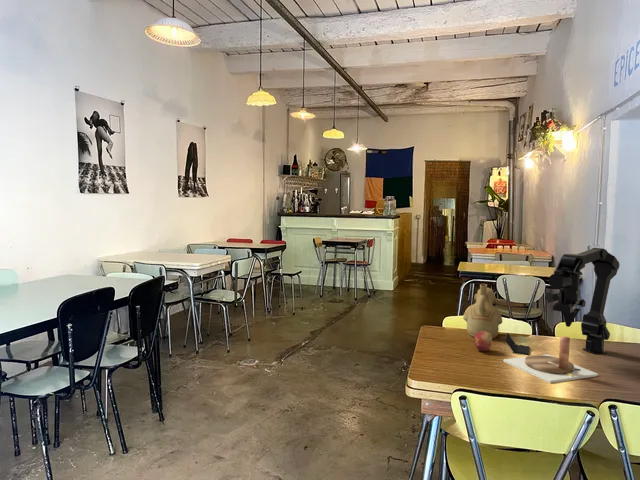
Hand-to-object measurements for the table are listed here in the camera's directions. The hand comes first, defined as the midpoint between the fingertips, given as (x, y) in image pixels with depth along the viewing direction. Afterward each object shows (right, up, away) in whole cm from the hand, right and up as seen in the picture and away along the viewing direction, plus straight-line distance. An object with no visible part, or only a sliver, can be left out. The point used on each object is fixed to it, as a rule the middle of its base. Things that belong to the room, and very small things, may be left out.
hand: (567, 326), depth 178 cm
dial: (-12, -13, -10) cm, 20 cm away
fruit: (-30, -12, +9) cm, 34 cm away
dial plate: (-12, -14, -10) cm, 21 cm away
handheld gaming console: (-15, -12, +12) cm, 23 cm away
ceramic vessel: (-22, -10, +32) cm, 41 cm away
